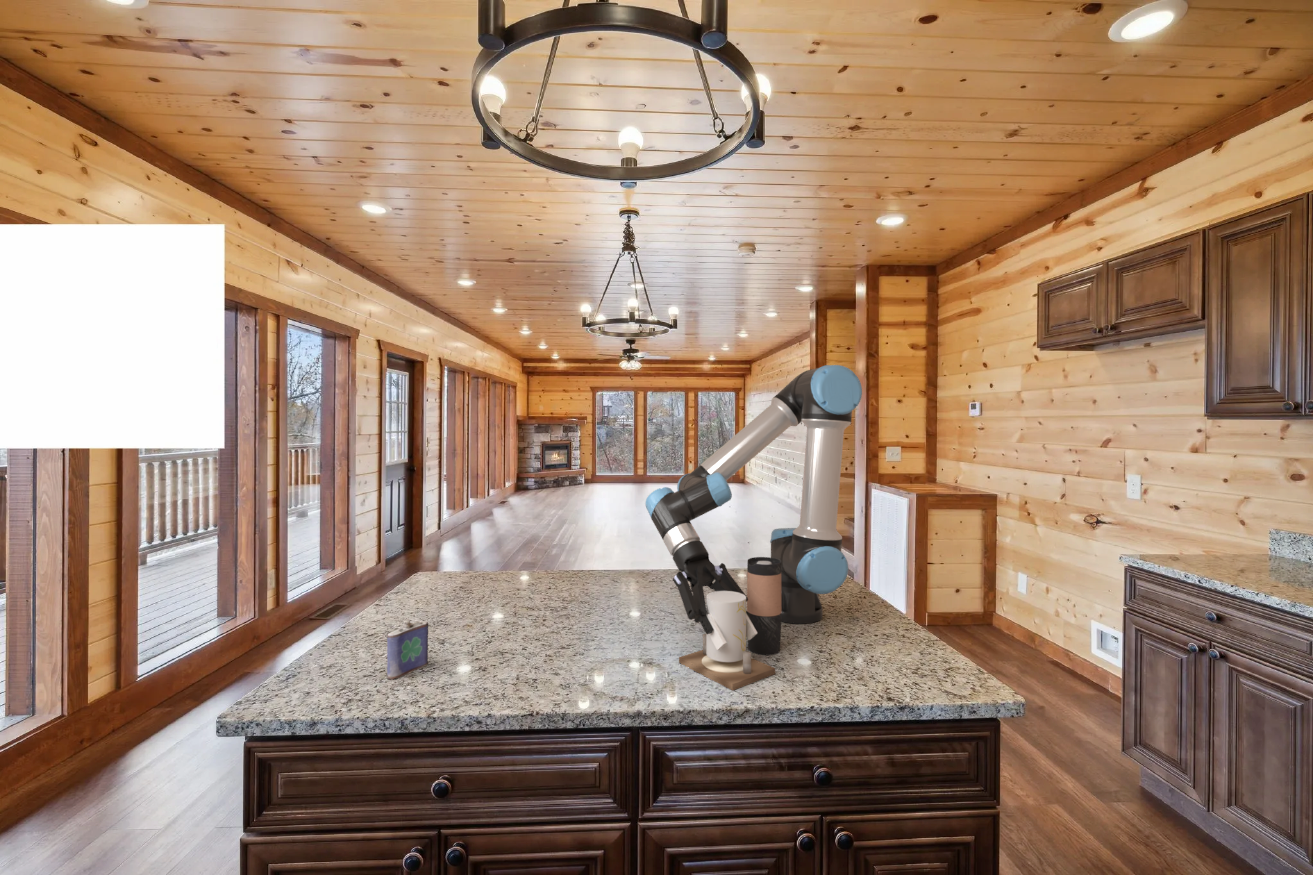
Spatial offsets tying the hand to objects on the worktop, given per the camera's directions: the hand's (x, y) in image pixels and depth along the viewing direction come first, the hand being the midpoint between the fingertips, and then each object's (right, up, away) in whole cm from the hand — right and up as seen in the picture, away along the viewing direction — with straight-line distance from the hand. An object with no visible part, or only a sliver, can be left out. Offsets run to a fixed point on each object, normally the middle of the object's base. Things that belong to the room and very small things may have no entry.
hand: (737, 641), depth 116 cm
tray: (-2, -7, +3) cm, 7 cm away
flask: (-67, -7, +2) cm, 68 cm away
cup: (-2, -4, +3) cm, 5 cm away
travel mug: (+8, -7, +13) cm, 17 cm away
